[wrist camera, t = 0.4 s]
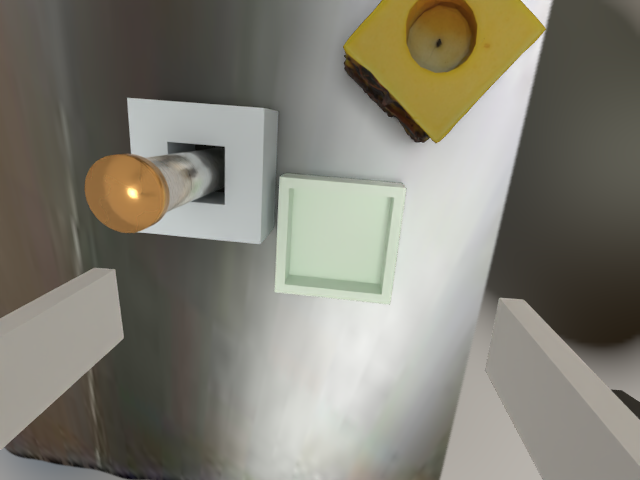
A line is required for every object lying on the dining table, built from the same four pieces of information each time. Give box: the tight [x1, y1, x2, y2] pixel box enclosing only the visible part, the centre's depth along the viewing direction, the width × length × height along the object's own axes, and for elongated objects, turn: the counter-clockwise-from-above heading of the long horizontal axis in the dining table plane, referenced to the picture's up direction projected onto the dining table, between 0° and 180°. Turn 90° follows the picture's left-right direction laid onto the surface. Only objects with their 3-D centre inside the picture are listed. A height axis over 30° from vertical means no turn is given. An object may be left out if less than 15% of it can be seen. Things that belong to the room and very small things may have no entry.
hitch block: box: [127, 98, 279, 244], centre depth 37 cm, size 12×12×6 cm
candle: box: [343, 0, 546, 143], centre depth 30 cm, size 10×10×10 cm
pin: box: [85, 148, 225, 233], centre depth 31 cm, size 5×5×17 cm
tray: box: [275, 173, 407, 305], centre depth 39 cm, size 12×12×3 cm
